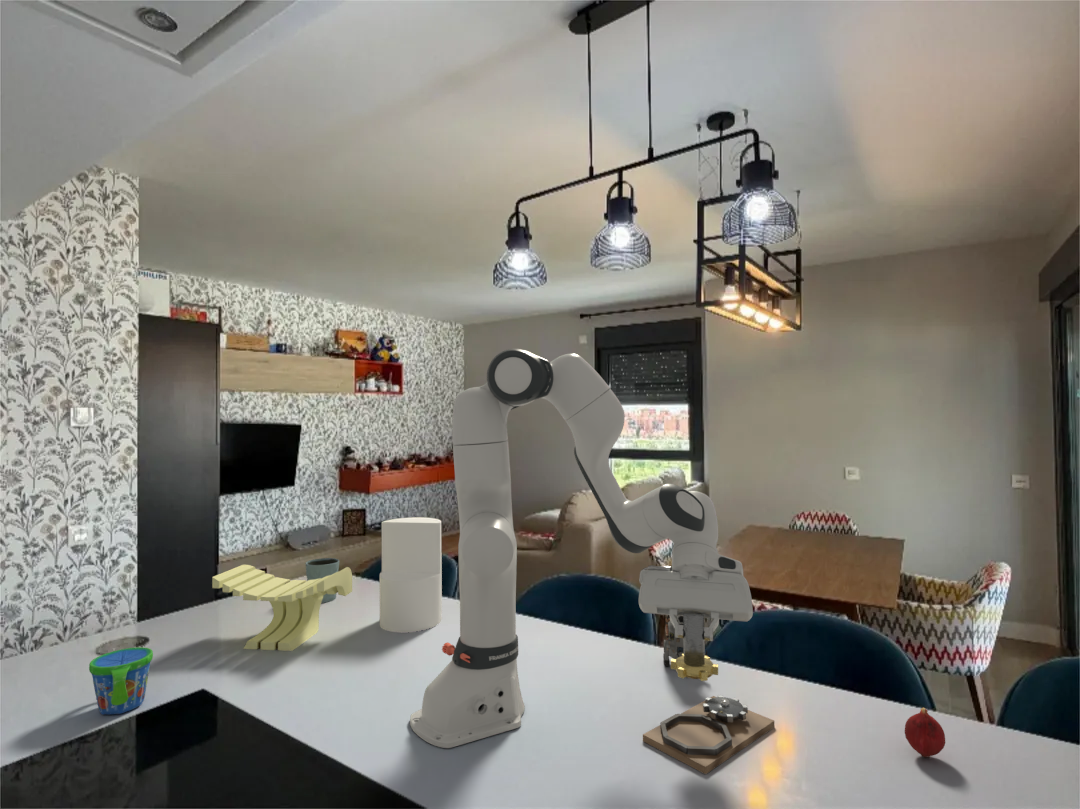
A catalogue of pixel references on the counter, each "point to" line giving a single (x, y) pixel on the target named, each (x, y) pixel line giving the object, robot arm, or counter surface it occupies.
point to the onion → (924, 734)
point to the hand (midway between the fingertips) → (693, 638)
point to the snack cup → (121, 679)
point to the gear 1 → (694, 650)
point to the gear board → (705, 737)
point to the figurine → (673, 642)
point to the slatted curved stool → (284, 603)
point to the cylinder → (411, 574)
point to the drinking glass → (322, 572)
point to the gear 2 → (725, 708)
